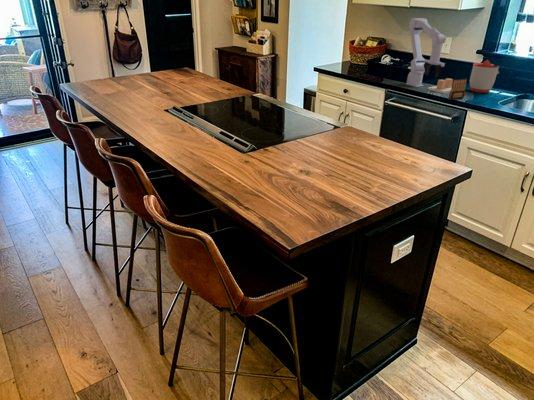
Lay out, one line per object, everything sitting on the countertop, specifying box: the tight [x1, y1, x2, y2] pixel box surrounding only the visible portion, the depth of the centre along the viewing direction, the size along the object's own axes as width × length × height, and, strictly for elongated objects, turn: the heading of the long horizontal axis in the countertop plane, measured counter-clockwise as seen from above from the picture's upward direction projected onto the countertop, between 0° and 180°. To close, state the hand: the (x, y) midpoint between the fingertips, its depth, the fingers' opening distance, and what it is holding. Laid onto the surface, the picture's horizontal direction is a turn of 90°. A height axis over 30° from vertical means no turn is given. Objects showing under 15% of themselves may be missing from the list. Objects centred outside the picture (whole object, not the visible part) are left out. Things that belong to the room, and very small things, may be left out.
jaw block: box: [436, 79, 446, 90], centre depth 278 cm, size 4×4×7 cm
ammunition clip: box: [448, 78, 467, 101], centre depth 258 cm, size 11×2×12 cm, turn 113°
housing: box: [427, 77, 454, 95], centre depth 279 cm, size 13×14×7 cm
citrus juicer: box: [469, 59, 500, 94], centre depth 277 cm, size 16×17×20 cm
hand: (431, 76), depth 275 cm, fingers open, 7 cm apart
